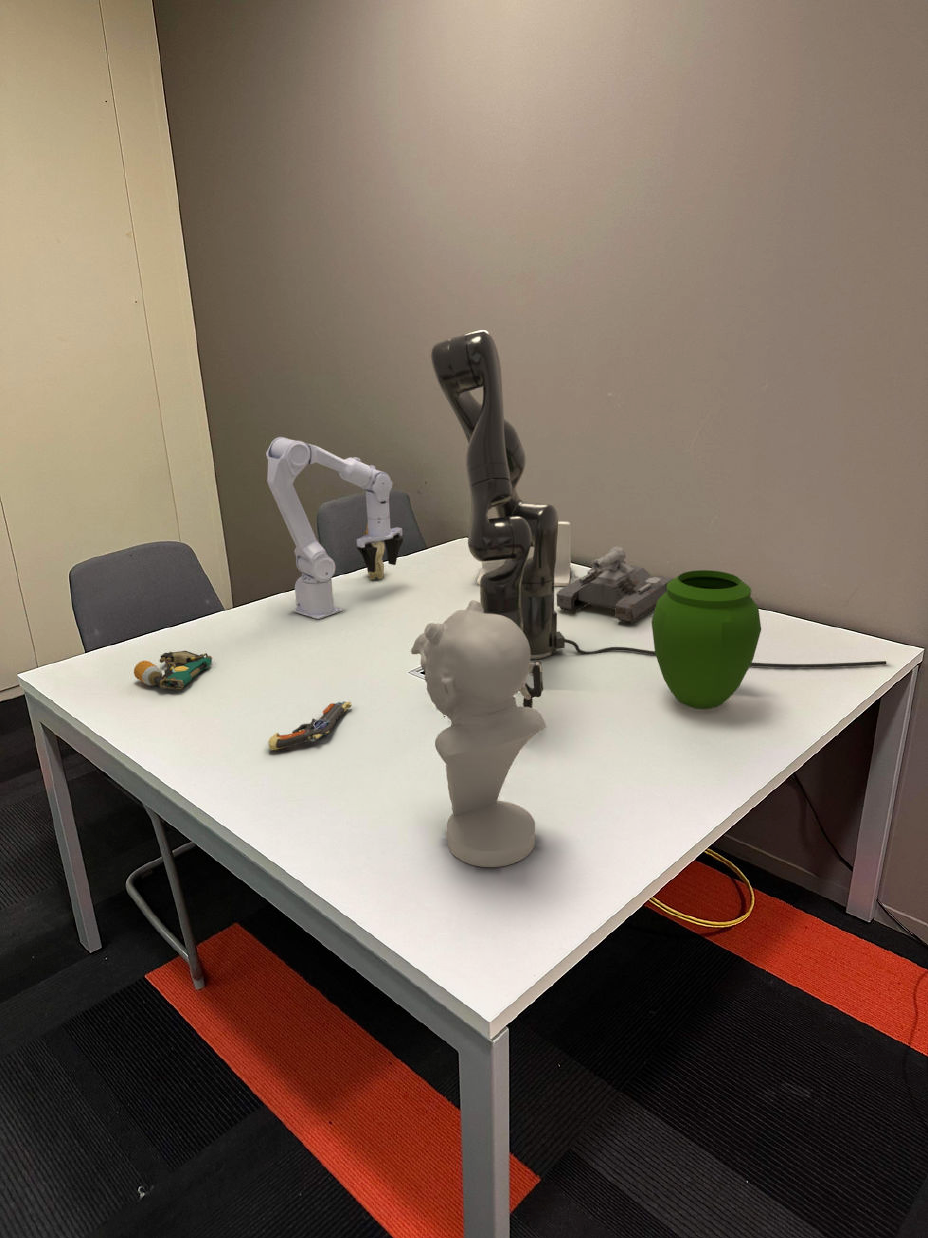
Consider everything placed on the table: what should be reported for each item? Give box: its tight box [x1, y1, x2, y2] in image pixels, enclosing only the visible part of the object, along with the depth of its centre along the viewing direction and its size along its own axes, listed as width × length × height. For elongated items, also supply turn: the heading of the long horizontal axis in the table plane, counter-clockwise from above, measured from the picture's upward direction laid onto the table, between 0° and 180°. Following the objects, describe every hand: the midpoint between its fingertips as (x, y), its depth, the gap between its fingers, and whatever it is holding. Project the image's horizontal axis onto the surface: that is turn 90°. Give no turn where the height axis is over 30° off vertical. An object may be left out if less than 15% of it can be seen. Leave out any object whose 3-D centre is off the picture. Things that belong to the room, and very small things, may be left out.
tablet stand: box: [476, 521, 572, 587], centre depth 236 cm, size 18×25×17 cm
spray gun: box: [133, 650, 213, 690], centre depth 180 cm, size 4×17×15 cm
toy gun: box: [267, 700, 353, 751], centre depth 156 cm, size 3×19×10 cm
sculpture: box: [363, 523, 386, 580], centre depth 238 cm, size 6×7×15 cm
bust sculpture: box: [410, 599, 547, 868], centre depth 121 cm, size 16×24×35 cm
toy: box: [556, 546, 675, 624], centre depth 212 cm, size 25×20×15 cm
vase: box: [651, 569, 762, 710], centre depth 158 cm, size 20×20×24 cm
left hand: (381, 567), depth 223 cm, fingers open, 7 cm apart
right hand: (502, 714), depth 154 cm, fingers open, 8 cm apart
